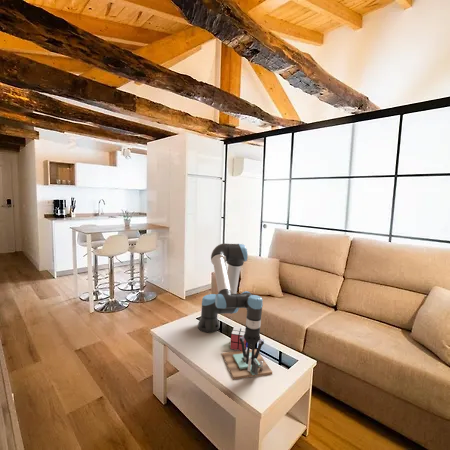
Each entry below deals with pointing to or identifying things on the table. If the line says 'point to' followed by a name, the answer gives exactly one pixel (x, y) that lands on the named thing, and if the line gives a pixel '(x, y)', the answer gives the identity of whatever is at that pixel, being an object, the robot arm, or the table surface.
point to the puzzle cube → (237, 339)
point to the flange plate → (243, 364)
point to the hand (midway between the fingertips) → (249, 369)
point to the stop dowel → (261, 365)
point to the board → (244, 373)
